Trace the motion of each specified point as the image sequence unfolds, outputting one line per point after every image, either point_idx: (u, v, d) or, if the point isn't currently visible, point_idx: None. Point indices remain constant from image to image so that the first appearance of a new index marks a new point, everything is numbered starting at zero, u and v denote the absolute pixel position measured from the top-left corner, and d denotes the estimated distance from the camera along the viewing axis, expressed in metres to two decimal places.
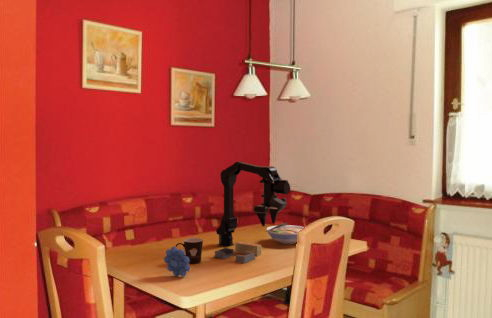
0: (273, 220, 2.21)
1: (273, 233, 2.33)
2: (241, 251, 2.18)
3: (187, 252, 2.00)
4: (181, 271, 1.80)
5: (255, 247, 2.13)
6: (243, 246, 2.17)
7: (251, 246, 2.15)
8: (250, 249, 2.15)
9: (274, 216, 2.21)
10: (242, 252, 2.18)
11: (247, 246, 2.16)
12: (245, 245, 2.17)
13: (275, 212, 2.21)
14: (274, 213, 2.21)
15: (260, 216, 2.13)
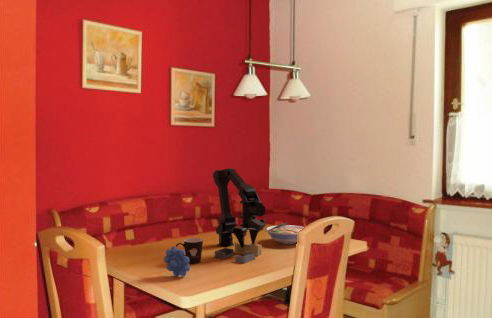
0: (253, 241, 2.21)
1: (273, 233, 2.33)
2: (241, 251, 2.18)
3: (187, 252, 2.00)
4: (181, 271, 1.80)
5: (256, 247, 2.13)
6: None
7: (251, 246, 2.15)
8: (250, 249, 2.15)
9: (254, 237, 2.21)
10: (242, 252, 2.18)
11: (247, 246, 2.16)
12: (245, 245, 2.17)
13: (255, 233, 2.21)
14: (254, 234, 2.21)
15: (239, 237, 2.13)
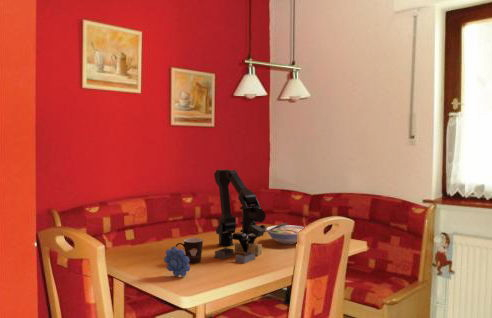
0: None
1: (273, 233, 2.33)
2: (241, 251, 2.18)
3: (187, 252, 2.00)
4: (181, 271, 1.80)
5: (256, 246, 2.14)
6: None
7: (252, 246, 2.15)
8: (250, 249, 2.15)
9: None
10: (242, 252, 2.17)
11: (247, 246, 2.16)
12: None
13: (252, 239, 2.19)
14: (251, 240, 2.19)
15: (242, 242, 2.15)
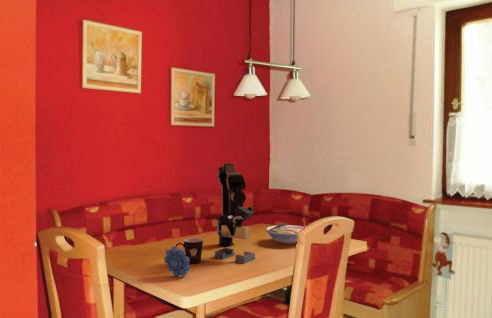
0: None
1: (273, 233, 2.33)
2: (228, 234, 2.08)
3: (187, 252, 2.00)
4: (181, 271, 1.80)
5: (243, 229, 2.04)
6: None
7: (239, 228, 2.05)
8: (238, 232, 2.06)
9: None
10: (229, 235, 2.08)
11: (234, 229, 2.06)
12: None
13: (239, 222, 2.10)
14: (238, 223, 2.10)
15: (229, 225, 2.06)
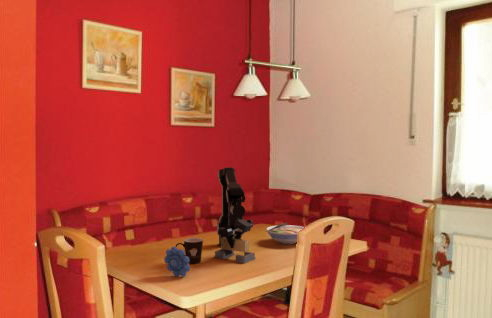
0: None
1: (273, 233, 2.33)
2: (228, 247, 2.09)
3: (187, 252, 2.00)
4: (181, 271, 1.80)
5: (243, 242, 2.04)
6: None
7: (238, 241, 2.06)
8: (237, 244, 2.06)
9: None
10: (229, 248, 2.08)
11: (234, 241, 2.07)
12: None
13: (239, 235, 2.10)
14: (238, 236, 2.10)
15: (228, 238, 2.06)
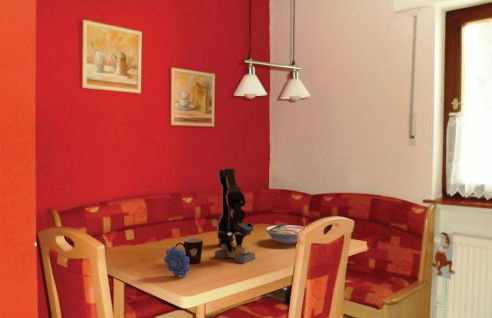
0: None
1: (273, 233, 2.33)
2: (227, 253, 2.09)
3: (187, 252, 2.00)
4: (181, 271, 1.80)
5: (242, 249, 2.04)
6: None
7: (238, 248, 2.06)
8: (237, 251, 2.06)
9: (239, 242, 2.11)
10: (229, 254, 2.09)
11: (234, 248, 2.07)
12: (232, 247, 2.07)
13: (240, 238, 2.11)
14: (239, 239, 2.11)
15: (226, 242, 2.05)
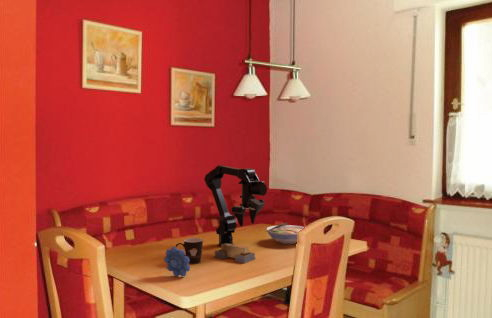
0: (252, 220, 2.27)
1: (273, 233, 2.33)
2: (227, 253, 2.09)
3: (187, 252, 2.00)
4: (181, 271, 1.80)
5: (242, 249, 2.04)
6: (230, 248, 2.08)
7: (238, 248, 2.06)
8: (237, 251, 2.06)
9: (253, 216, 2.27)
10: (229, 254, 2.09)
11: (234, 248, 2.07)
12: (232, 247, 2.07)
13: (254, 213, 2.27)
14: (253, 214, 2.27)
15: (238, 216, 2.20)
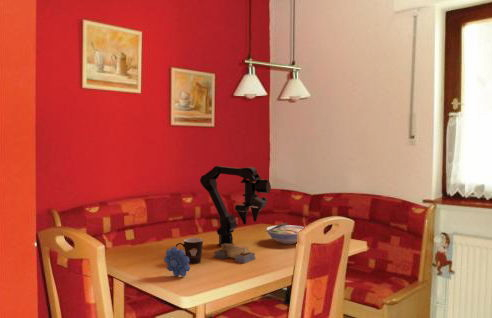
0: (254, 218, 2.31)
1: (273, 233, 2.33)
2: (227, 253, 2.09)
3: (187, 252, 2.00)
4: (181, 271, 1.80)
5: (242, 249, 2.04)
6: (230, 248, 2.08)
7: (238, 248, 2.06)
8: (237, 251, 2.06)
9: (255, 214, 2.31)
10: (229, 254, 2.09)
11: (234, 248, 2.07)
12: (232, 247, 2.07)
13: (256, 211, 2.31)
14: (255, 212, 2.31)
15: (241, 214, 2.23)
